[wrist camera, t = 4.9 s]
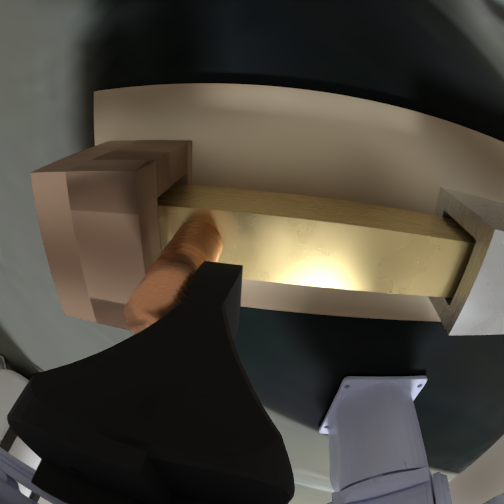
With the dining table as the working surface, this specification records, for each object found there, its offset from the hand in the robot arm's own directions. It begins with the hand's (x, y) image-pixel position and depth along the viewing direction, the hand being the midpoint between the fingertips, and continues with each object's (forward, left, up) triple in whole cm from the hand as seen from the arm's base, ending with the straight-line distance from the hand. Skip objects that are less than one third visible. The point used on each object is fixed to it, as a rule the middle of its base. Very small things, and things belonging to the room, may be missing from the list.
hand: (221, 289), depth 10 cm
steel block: (0, -16, -7) cm, 18 cm away
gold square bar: (0, -3, -6) cm, 7 cm away
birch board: (0, -7, -8) cm, 11 cm away
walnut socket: (0, +6, -7) cm, 9 cm away
